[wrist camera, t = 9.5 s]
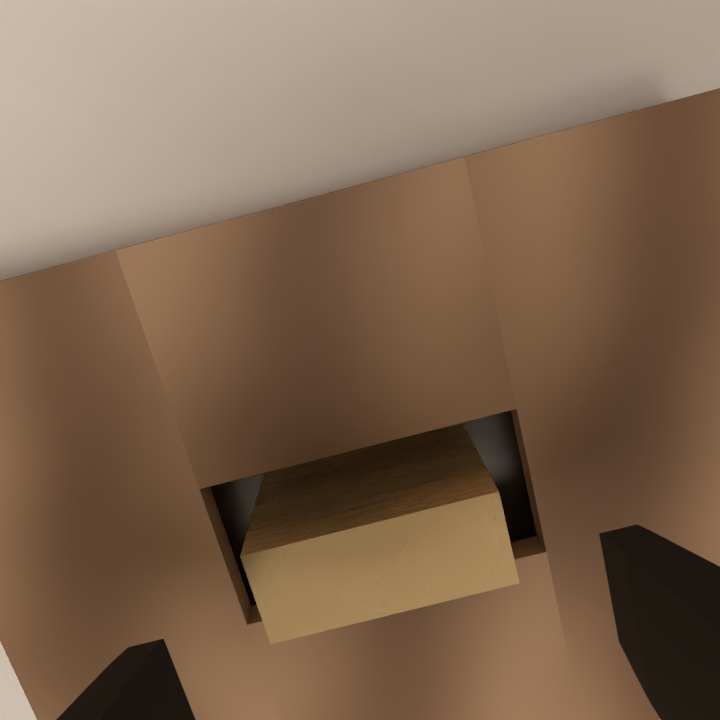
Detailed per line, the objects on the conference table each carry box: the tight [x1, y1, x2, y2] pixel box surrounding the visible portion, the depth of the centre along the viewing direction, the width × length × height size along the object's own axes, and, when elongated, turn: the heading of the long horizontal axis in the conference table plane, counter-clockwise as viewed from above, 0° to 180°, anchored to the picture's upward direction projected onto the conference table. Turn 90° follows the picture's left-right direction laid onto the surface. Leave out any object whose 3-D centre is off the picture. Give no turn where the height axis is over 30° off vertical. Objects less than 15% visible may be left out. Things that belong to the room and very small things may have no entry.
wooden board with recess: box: [0, 88, 720, 720], centre depth 15 cm, size 18×14×3 cm
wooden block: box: [240, 423, 520, 644], centre depth 14 cm, size 5×2×5 cm, turn 105°
